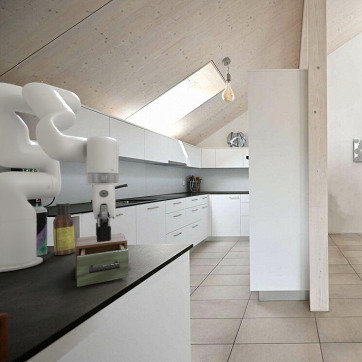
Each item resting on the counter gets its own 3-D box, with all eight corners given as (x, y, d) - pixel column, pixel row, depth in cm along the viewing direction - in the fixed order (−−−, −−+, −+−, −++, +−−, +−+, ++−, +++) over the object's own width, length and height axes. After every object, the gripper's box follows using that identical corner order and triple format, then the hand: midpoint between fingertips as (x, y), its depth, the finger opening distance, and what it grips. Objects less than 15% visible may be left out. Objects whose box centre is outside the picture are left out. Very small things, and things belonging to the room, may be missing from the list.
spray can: (32, 257, 95) (32, 203, 95) (23, 255, 97) (23, 203, 97) (50, 253, 101) (50, 202, 101) (42, 252, 102) (42, 202, 102)
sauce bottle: (79, 251, 103) (79, 202, 103) (64, 256, 97) (63, 203, 97) (64, 251, 104) (64, 202, 104) (48, 255, 98) (48, 203, 98)
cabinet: (127, 270, 82) (127, 240, 82) (75, 279, 74) (75, 246, 74) (122, 259, 93) (122, 232, 93) (77, 266, 85) (77, 237, 85)
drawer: (130, 282, 70) (130, 253, 70) (76, 293, 63) (76, 261, 63) (123, 264, 84) (123, 241, 84) (78, 272, 77) (78, 246, 77)
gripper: (121, 179, 70) (121, 242, 70) (116, 179, 84) (116, 232, 84) (86, 179, 66) (86, 246, 66) (86, 179, 79) (87, 235, 79)
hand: (103, 238), depth 75 cm, fingers open, 9 cm apart
